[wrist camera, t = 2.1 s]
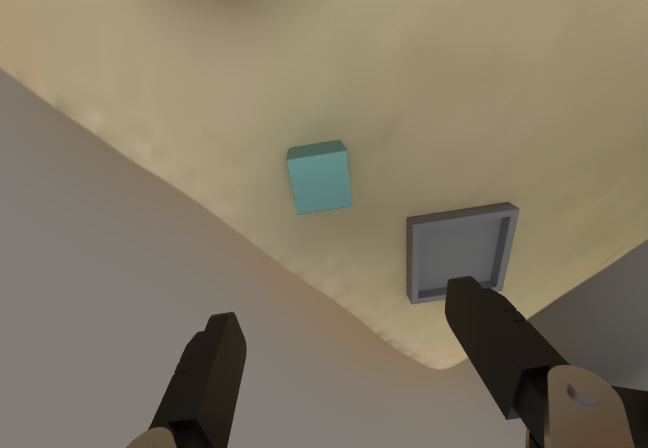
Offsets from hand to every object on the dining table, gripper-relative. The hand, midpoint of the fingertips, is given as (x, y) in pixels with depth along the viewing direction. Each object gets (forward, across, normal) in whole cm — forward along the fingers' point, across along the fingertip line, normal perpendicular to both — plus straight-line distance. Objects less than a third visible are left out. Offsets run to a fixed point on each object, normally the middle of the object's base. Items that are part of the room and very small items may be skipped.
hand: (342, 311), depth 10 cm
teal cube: (+20, 0, 0) cm, 20 cm away
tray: (+20, -15, +13) cm, 28 cm away
